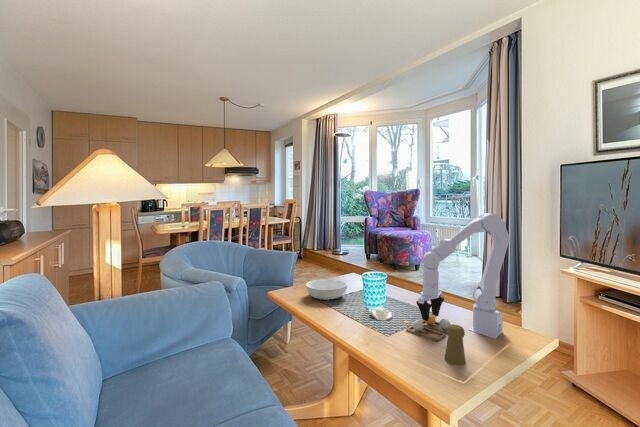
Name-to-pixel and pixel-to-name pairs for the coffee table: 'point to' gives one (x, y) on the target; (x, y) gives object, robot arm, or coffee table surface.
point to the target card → (406, 322)
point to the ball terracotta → (431, 320)
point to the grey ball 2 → (444, 324)
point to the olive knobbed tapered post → (455, 345)
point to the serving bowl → (326, 288)
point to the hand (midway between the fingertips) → (430, 317)
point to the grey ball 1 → (418, 325)
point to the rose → (381, 314)
